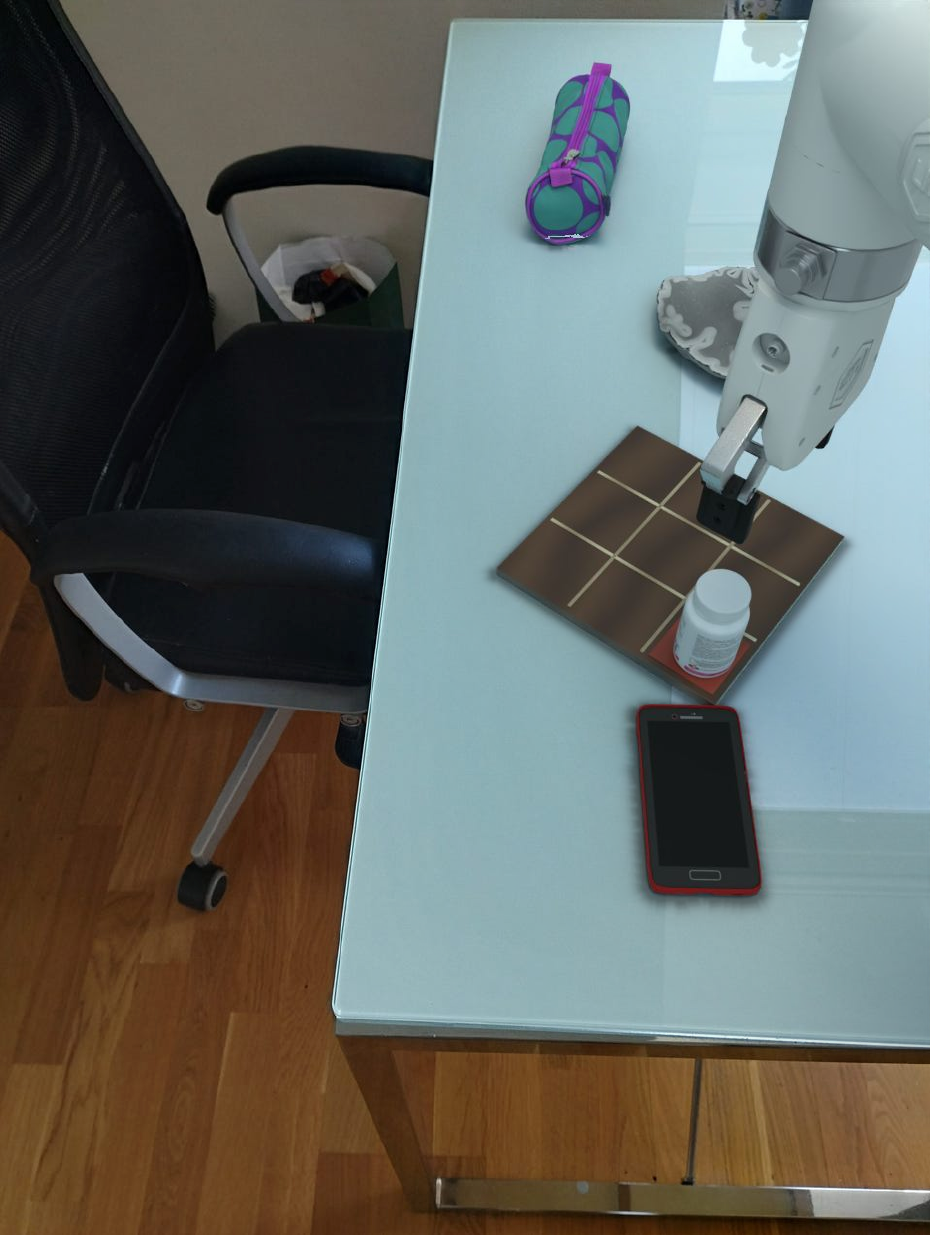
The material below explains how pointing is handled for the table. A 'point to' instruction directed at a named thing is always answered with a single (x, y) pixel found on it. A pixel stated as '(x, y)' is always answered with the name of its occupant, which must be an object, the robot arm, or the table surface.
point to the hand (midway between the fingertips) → (762, 482)
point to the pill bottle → (712, 623)
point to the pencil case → (579, 157)
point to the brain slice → (706, 314)
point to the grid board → (662, 559)
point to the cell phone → (696, 801)
